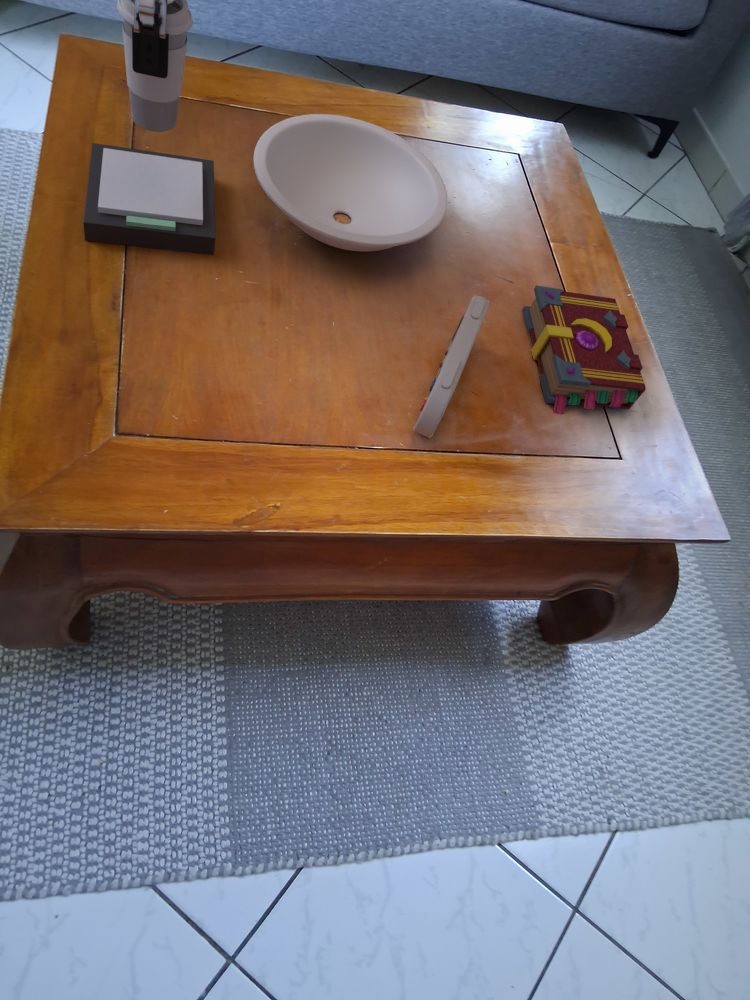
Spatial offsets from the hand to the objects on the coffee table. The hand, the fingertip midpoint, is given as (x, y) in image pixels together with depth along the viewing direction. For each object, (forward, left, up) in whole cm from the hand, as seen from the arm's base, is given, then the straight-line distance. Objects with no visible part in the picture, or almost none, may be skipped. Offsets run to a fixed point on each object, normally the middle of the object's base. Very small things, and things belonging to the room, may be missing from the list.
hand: (154, 50), depth 75 cm
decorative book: (+25, -48, -19) cm, 57 cm away
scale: (0, 0, -18) cm, 18 cm away
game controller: (+8, -39, -19) cm, 44 cm away
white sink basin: (+19, -13, -19) cm, 30 cm away
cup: (0, 0, -7) cm, 7 cm away
